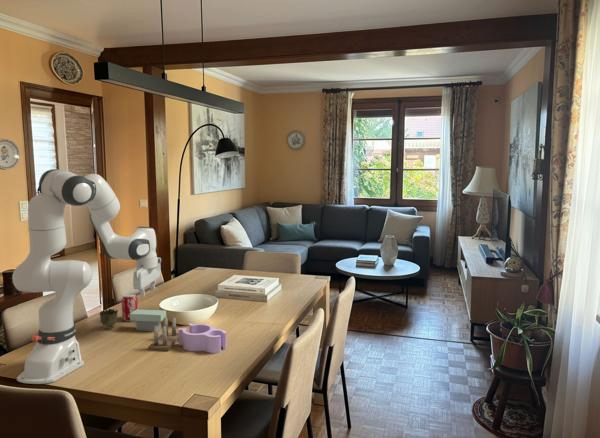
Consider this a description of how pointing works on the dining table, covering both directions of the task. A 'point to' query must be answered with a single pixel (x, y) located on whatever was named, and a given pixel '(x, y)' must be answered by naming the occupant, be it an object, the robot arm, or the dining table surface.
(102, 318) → the cup
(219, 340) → the clip
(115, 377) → the dining table surface
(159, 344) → the peg stand
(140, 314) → the shelf board
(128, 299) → the soda can
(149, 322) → the board rest
